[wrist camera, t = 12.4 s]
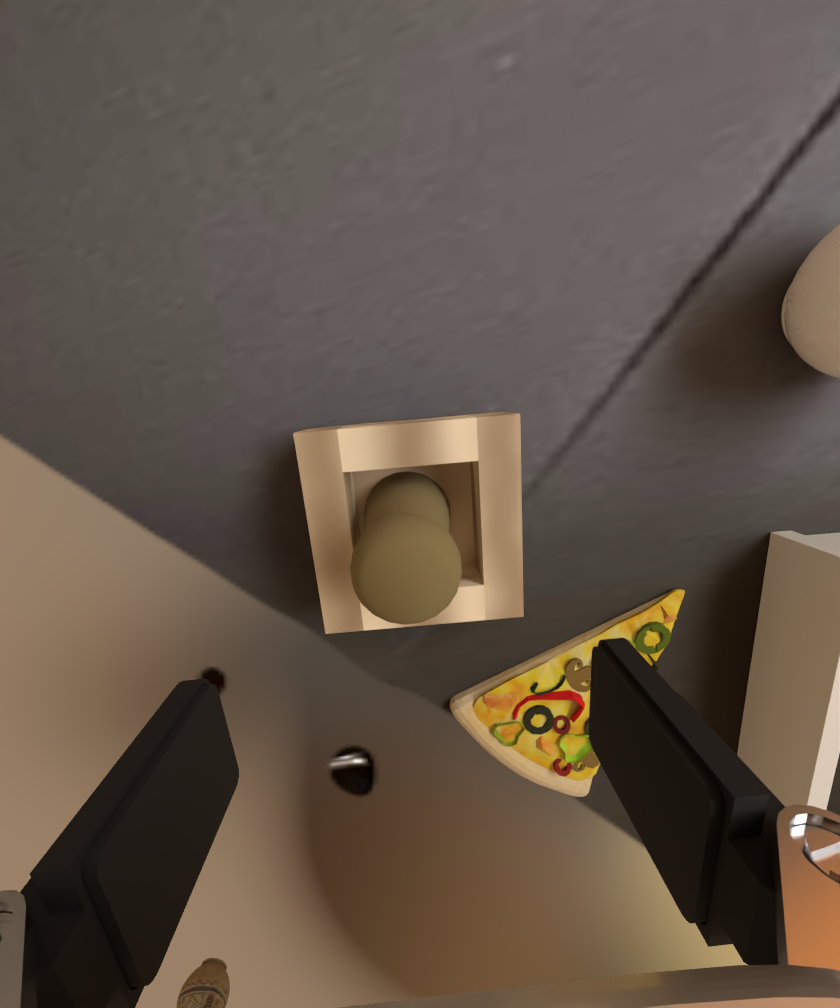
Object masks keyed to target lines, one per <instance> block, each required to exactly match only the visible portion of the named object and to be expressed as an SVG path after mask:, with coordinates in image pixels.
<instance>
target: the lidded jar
mask: <svg viewBox="0 0 840 1008" xmlns="http://www.w3.org/2000/svg"><path fill="white" fill-rule="evenodd" d="M781 325H782V330H783V332H784V335H785V337H786V339H787V340H788V342H789V343H790V344H791V345H792V347H793V348H794V350H795V352H796V353H797V354H798V355H799V356H800V358H801V359H802V360H803V361H805V362H806V363H807V364H809V365H810V366H812V367H813V368H814V369H816V370H818V371H820V372H822V373H824V374H827V375H829V376H832V377H834V378H837V379H840V224H838V225H837V226H836V227H835V228H834V229H833V230H832V231H830V232H829V233H828V234H827V235H826V236H825V237H824V238H823V239H822V240H821V241H820V242H819V243H818V244H817V245H816V247H815V248H814V249H813V250H812V251H811V253H810V254H809V255H808V256H807V258H806V259H805V261H804V262H803V263H802V265H801V266H800V268H799V270H798V272H797V274H796V275H795V277H794V279H793V281H792V283H791V284H790V286H789V288H788V290H787V292H786V294H785V297H784V300H783V304H782V309H781Z"/></svg>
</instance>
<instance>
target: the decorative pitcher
mask: <svg viewBox="0 0 840 1008" xmlns="http://www.w3.org/2000/svg"><path fill="white" fill-rule="evenodd" d="M226 969H227V966H226V963H225V962H224V961H223V960H220V959H217V958H208V959H206V960H204V961H203V962H202V965H201V966H200V967H198V968H197V969H196V970H195V971H194V972H193V973H192V974H191V975H190V976H189V977H188V978H187V980H186V981H185V983H184V985H183V986H182V988H181V991H180V994H179V996H178V1000H177V1008H225V1007H226V1004H227V1001H228V997H229V992H230V981H229V976H228V974H227V972H226Z"/></svg>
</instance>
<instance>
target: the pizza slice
mask: <svg viewBox="0 0 840 1008" xmlns="http://www.w3.org/2000/svg"><path fill="white" fill-rule="evenodd" d="M684 592H685V590H682V589H673V590H672V591H670V592H669V593H667V594H664V595H662V596H660V597H658V598H656V599H654V600H652V601H650V602H648V603H646V604H644V605H642V606H639V607H637V608H635V609H633V610H631V611H629V612H627V613H625V614H623V615H621V616H619V617H617V618H615V619H612V620H610V621H608V622H606V623H604V624H602V625H600V626H598V627H596V628H594V629H592V630H590V631H587V632H585V633H583V634H581V635H579V636H577V637H575V638H573V639H571V640H569V641H567V642H565V643H562V644H560V645H558V646H556V647H554V648H552V649H550V650H548V651H546V652H544V653H542V654H540V655H537V656H535V657H533V658H531V659H529V660H527V661H525V662H523V663H521V664H519V665H517V666H515V667H513V668H511V669H508V670H506V671H504V672H502V673H500V674H498V675H496V676H494V677H492V678H490V679H488V680H486V681H484V682H481V683H479V684H477V685H475V686H473V687H471V688H469V689H467V690H465V691H462V692H460V693H458V694H456V695H454V696H453V697H452V698H451V699H450V709H451V711H452V713H453V715H454V717H455V718H456V720H457V721H458V722H459V723H460V724H461V725H462V726H463V727H464V728H465V729H466V731H468V733H469V734H471V736H472V737H473V738H474V739H475V740H476V741H477V742H478V743H479V744H480V745H481V746H482V747H483V748H484V749H485V750H486V751H487V752H489V753H490V754H491V755H492V756H493V757H495V758H496V759H497V760H498V761H500V762H501V763H502V764H504V765H505V766H506V767H508V768H510V769H511V770H512V771H514V772H516V773H517V774H519V775H520V776H522V777H524V778H526V779H528V780H530V781H532V782H534V783H536V784H539V785H541V786H544V787H547V788H550V789H553V790H555V791H558V792H561V793H564V794H567V795H571V796H575V797H582V796H586V795H587V794H588V793H589V789H590V785H591V782H592V778H593V776H594V775H595V774H596V772H597V770H598V768H599V765H600V762H599V760H598V758H597V756H596V754H595V752H594V751H593V748H592V746H591V743H590V739H589V732H588V730H589V707H590V683H591V660H592V649H593V647H595V646H598V643H599V641H600V640H603V639H613V638H625V639H627V640H628V641H629V642H630V643H631V644H632V646H633V647H634V648H635V649H636V650H637V651H638V652H639V653H640V654H641V655H642V656H643V657H644V659H645V660H646V661H647V662H648V663H649V664H650V665H651V666H652V667H653V668H654V669H655V670H656V671H657V669H658V663H657V659H658V657H659V655H660V654H661V652H662V651H663V650H664V648H665V647H666V646H667V645H668V643H669V642H670V639H671V631H672V628H673V625H674V622H675V620H677V618H676V616H677V613H678V610H679V608H680V605H681V602H682V599H683V597H684Z"/></svg>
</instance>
